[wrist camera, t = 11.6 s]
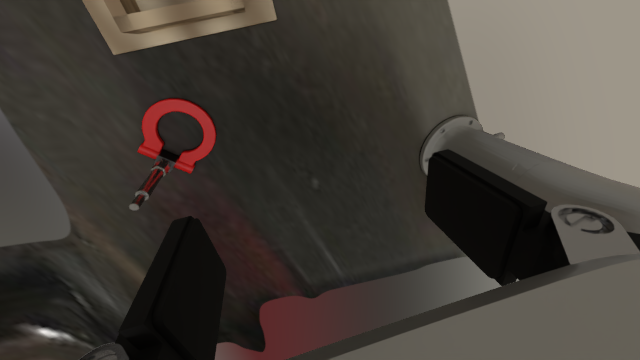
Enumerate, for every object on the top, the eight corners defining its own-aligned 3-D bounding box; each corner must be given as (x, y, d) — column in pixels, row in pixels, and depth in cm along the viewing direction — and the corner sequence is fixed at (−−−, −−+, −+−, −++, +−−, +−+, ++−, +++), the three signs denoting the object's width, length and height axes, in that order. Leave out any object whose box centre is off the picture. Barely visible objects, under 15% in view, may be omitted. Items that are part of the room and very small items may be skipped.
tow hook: (160, 83, 29) (131, 146, 31) (112, 101, 18) (73, 197, 20) (227, 119, 33) (197, 174, 35) (220, 152, 22) (178, 228, 24)
